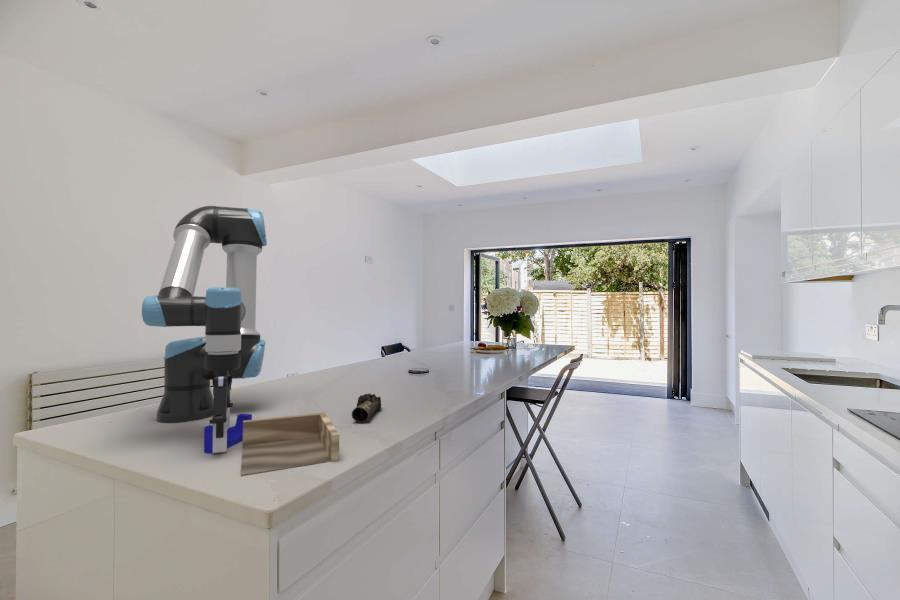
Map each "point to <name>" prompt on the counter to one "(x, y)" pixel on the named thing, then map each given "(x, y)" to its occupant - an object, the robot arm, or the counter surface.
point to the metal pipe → (366, 407)
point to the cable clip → (232, 433)
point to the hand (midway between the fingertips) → (221, 443)
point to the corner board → (288, 443)
